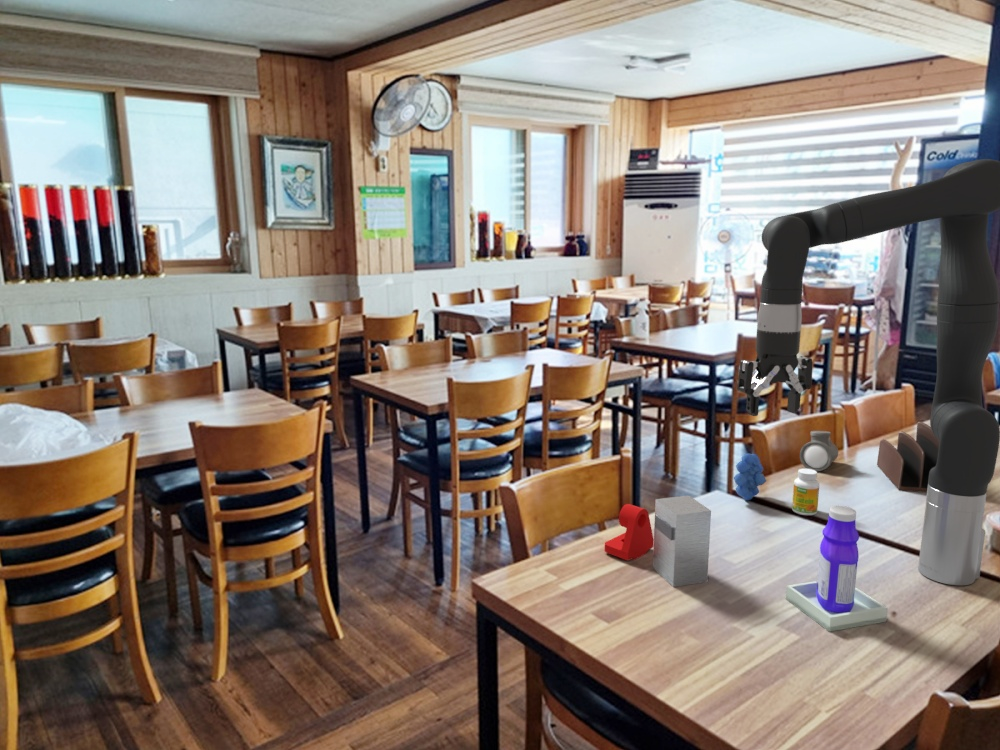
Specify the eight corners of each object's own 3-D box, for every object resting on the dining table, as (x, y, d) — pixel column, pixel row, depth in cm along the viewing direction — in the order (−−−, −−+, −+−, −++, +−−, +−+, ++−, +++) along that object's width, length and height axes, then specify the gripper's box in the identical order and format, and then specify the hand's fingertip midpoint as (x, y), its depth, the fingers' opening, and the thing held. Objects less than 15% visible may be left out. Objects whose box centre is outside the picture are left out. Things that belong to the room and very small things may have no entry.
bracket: (628, 540, 155) (629, 495, 153) (653, 549, 150) (655, 503, 148) (602, 553, 149) (603, 506, 147) (627, 563, 144) (629, 515, 142)
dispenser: (687, 562, 144) (691, 495, 141) (709, 581, 137) (713, 510, 134) (651, 568, 142) (653, 499, 139) (671, 587, 134) (674, 515, 132)
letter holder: (916, 468, 199) (921, 417, 196) (942, 494, 180) (949, 438, 177) (876, 465, 201) (881, 415, 198) (898, 491, 182) (904, 436, 179)
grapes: (752, 511, 169) (756, 461, 167) (725, 504, 174) (728, 455, 172) (775, 498, 178) (778, 450, 175) (749, 491, 182) (752, 444, 180)
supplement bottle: (791, 514, 168) (794, 473, 166) (792, 505, 173) (795, 466, 171) (817, 517, 166) (820, 476, 164) (816, 508, 171) (820, 469, 169)
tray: (838, 590, 133) (840, 577, 133) (886, 621, 122) (887, 607, 122) (785, 598, 130) (786, 585, 130) (829, 631, 120) (830, 617, 119)
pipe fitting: (829, 473, 193) (831, 435, 193) (798, 469, 198) (799, 432, 198) (843, 467, 202) (845, 430, 202) (813, 464, 207) (814, 427, 207)
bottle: (857, 617, 122) (867, 518, 119) (821, 614, 123) (829, 516, 120) (846, 596, 129) (855, 502, 126) (811, 593, 130) (819, 500, 127)
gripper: (757, 332, 129) (751, 421, 133) (825, 328, 133) (818, 415, 136) (732, 326, 136) (728, 411, 140) (798, 323, 140) (792, 406, 143)
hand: (772, 413), depth 138 cm, fingers open, 8 cm apart
